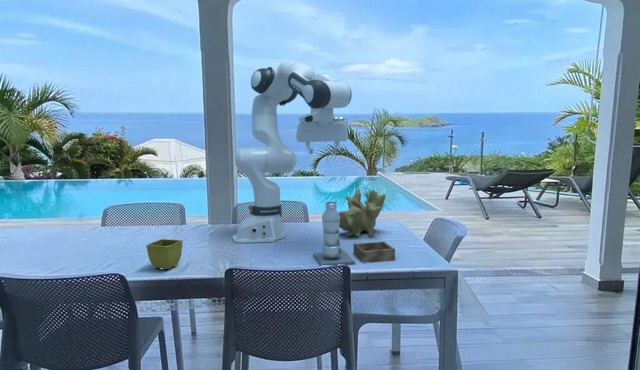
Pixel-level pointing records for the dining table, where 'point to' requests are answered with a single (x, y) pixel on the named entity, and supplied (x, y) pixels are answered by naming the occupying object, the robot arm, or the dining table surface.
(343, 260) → the rubber mat
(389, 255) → the walnut collar
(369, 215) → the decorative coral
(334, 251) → the plastic bottle
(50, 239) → the dining table surface
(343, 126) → the robot arm
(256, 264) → the dining table surface
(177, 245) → the flower pot
